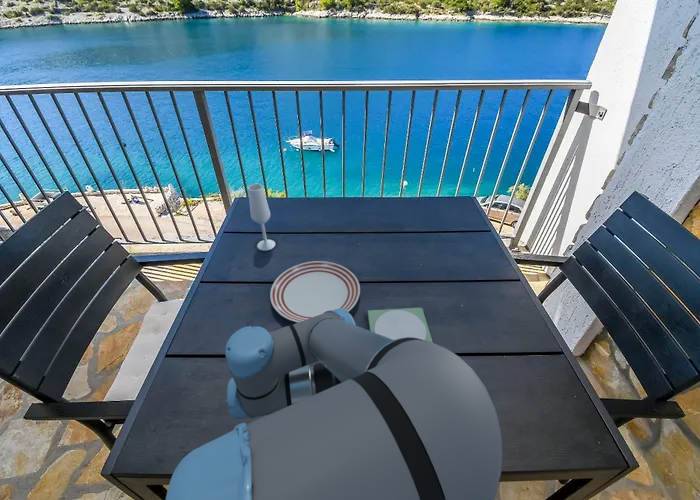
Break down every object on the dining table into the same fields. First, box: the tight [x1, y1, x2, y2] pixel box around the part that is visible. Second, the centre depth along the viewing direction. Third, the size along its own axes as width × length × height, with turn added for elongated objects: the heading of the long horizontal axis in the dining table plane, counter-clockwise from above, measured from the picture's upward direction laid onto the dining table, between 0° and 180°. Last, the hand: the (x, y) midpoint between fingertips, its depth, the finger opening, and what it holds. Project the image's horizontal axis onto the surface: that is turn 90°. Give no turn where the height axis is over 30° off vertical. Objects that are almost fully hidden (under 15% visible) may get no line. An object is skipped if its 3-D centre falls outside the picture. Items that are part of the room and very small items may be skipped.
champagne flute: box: [247, 183, 276, 252], centre depth 121 cm, size 7×7×24 cm
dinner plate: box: [269, 260, 361, 324], centre depth 108 cm, size 27×27×3 cm
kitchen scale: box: [366, 307, 434, 343], centre depth 95 cm, size 18×16×3 cm
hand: (426, 365), depth 69 cm, fingers closed on potion bottle, 9 cm apart
